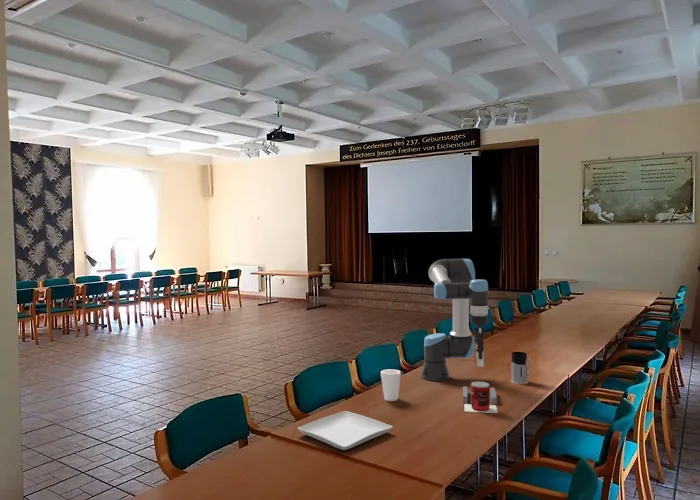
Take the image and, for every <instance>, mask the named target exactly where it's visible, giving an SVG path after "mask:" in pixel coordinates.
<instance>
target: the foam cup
mask: <svg viewBox="0 0 700 500" xmlns="http://www.w3.org/2000/svg"><path fill="white" fill-rule="evenodd" d="M401 377H402V374H401V370H399V369H391V368H389V369H383V370H381V371H380V378H381V385H382V392H383V397H384V401H387V402H394V401H398V399H399V392H400V384H401V383H400V382H401Z"/></svg>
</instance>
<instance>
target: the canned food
mask: <svg viewBox="0 0 700 500" xmlns="http://www.w3.org/2000/svg"><path fill="white" fill-rule="evenodd" d="M470 391H471V394H470V395H471V398H470V399H471V400H470V401H471V403H470V404H471V406H472V409H474V410H477V411H487V410H489V408H490V405H491V404H490V383H488V382H485V381H472V382H471V384H470Z"/></svg>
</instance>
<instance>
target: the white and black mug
mask: <svg viewBox="0 0 700 500" xmlns="http://www.w3.org/2000/svg"><path fill="white" fill-rule="evenodd" d="M527 354H528V353H526V352H524V351H512V352H511V380H510V382H511V383H512V384H515V385H526V384H529V381H528V376H530V375H531V373H532V371H533V365H534V364H533V361H532V359H531V358H528V355H527ZM528 360H529V361H530V364H531V365H530V371H529V372H528Z"/></svg>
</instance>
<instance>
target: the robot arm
mask: <svg viewBox="0 0 700 500" xmlns="http://www.w3.org/2000/svg"><path fill="white" fill-rule="evenodd" d="M427 273H428V277H429V279H430V281H432V282H433V283H434V285H433V296H434V298H435V299H436V300H452V330H451V331H450V332H449V335H448V336H447V335H446V334H445V333H443V332H442V333H440V332H439V333H432V334H427V335H426V336H425V337H424V339H423V341H424V344H423V346H424V347H423V348H424V349H423V351H424V354H423V355H424V363H423V366H422V370H421V378H422V379H424V380H427V381H432V382H433V381H435V382H438V381H439V382H440V381H441V382H442V381H446V380H449V379H450V372H449V368H448V365H447V359H469V358H472V357H473V355H474V354H475V353H476V355H475V356H476V358H475V360H476V366H477V367H484V366H485V361H484V360H485V359H484V357H485V356H484V354H485V353H484V351H485V349H484V344H485V343H484V338H485V327H483V325H484V326H485V325H488V324H489V316H488V314H489V311H488V310H490V307H489V283H488V281H487V279H476V269H475V266H474V263H473V261H472V260H471V259H470V258H442V259H438V260H436V261H434V262H433V263H432V264H431V265H430V266H429V267H428V271H427ZM469 304H470V305H469ZM469 307H470V308H469ZM469 309H470V310H469ZM469 311H470V313H469ZM469 315H470V316H469ZM469 318H470V320H469ZM469 321H470V322H469ZM469 323H470V324H472V325H475V327H474V332H475V337H474V336H473V335H472V332H471V331H470V329H469V328H470V327H469V326H470V325H469ZM474 352H475V353H474Z"/></svg>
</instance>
